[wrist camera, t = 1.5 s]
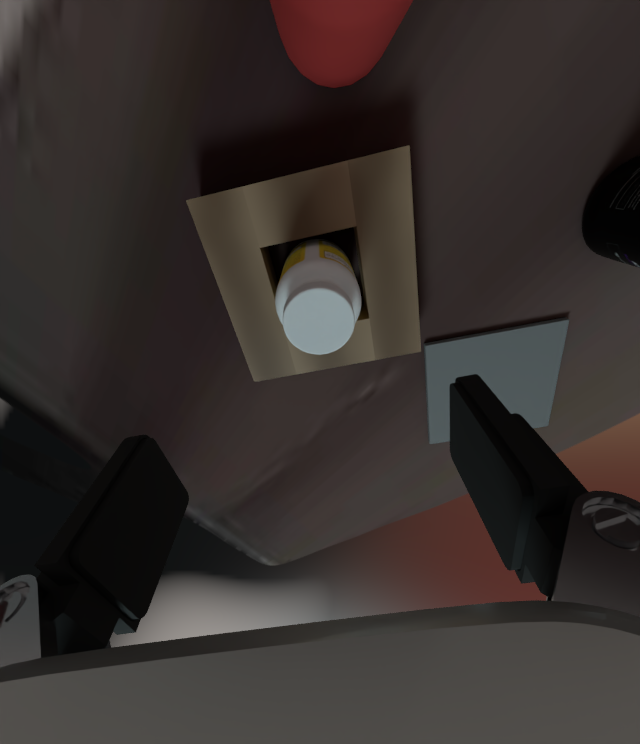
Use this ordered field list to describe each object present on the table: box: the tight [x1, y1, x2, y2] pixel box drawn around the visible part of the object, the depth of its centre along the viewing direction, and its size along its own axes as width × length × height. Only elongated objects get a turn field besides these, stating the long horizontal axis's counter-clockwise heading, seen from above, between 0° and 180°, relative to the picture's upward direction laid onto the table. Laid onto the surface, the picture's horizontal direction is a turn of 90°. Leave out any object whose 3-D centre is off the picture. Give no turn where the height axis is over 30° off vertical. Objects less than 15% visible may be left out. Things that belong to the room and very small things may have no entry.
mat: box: [424, 317, 569, 444], centre depth 32 cm, size 12×12×1 cm
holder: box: [186, 145, 421, 382], centre depth 25 cm, size 14×14×3 cm
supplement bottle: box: [275, 239, 361, 355], centre depth 22 cm, size 5×5×10 cm
